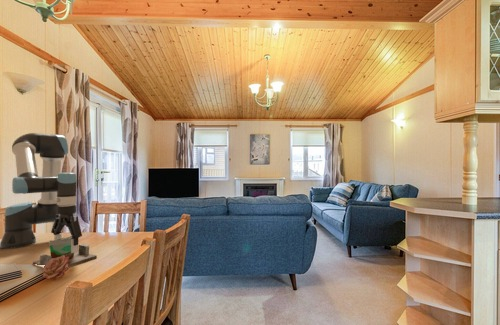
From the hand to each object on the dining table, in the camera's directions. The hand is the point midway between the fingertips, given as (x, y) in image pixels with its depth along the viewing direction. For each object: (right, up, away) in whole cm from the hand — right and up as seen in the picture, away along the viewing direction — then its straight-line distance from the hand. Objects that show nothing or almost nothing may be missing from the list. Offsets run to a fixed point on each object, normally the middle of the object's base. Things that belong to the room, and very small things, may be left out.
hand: (65, 250), depth 118 cm
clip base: (0, -5, 0) cm, 5 cm away
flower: (+9, -5, -18) cm, 21 cm away
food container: (0, -4, 0) cm, 4 cm away
